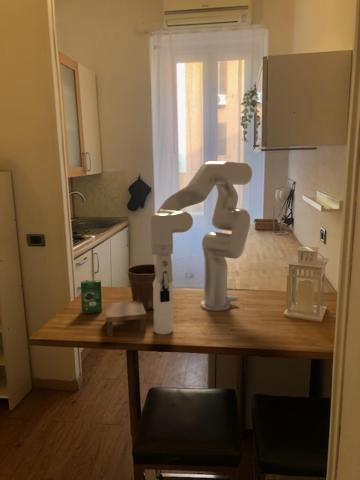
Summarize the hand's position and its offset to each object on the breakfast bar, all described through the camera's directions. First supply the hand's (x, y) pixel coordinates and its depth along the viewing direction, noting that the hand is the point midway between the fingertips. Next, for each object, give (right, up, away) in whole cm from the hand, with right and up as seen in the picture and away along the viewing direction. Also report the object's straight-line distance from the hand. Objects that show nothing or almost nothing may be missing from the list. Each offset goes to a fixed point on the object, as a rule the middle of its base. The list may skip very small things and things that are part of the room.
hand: (162, 297), depth 135 cm
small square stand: (-14, -12, +7) cm, 20 cm away
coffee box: (-30, -9, +21) cm, 38 cm away
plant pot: (-8, -8, +28) cm, 30 cm away
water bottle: (0, -13, +3) cm, 13 cm away
